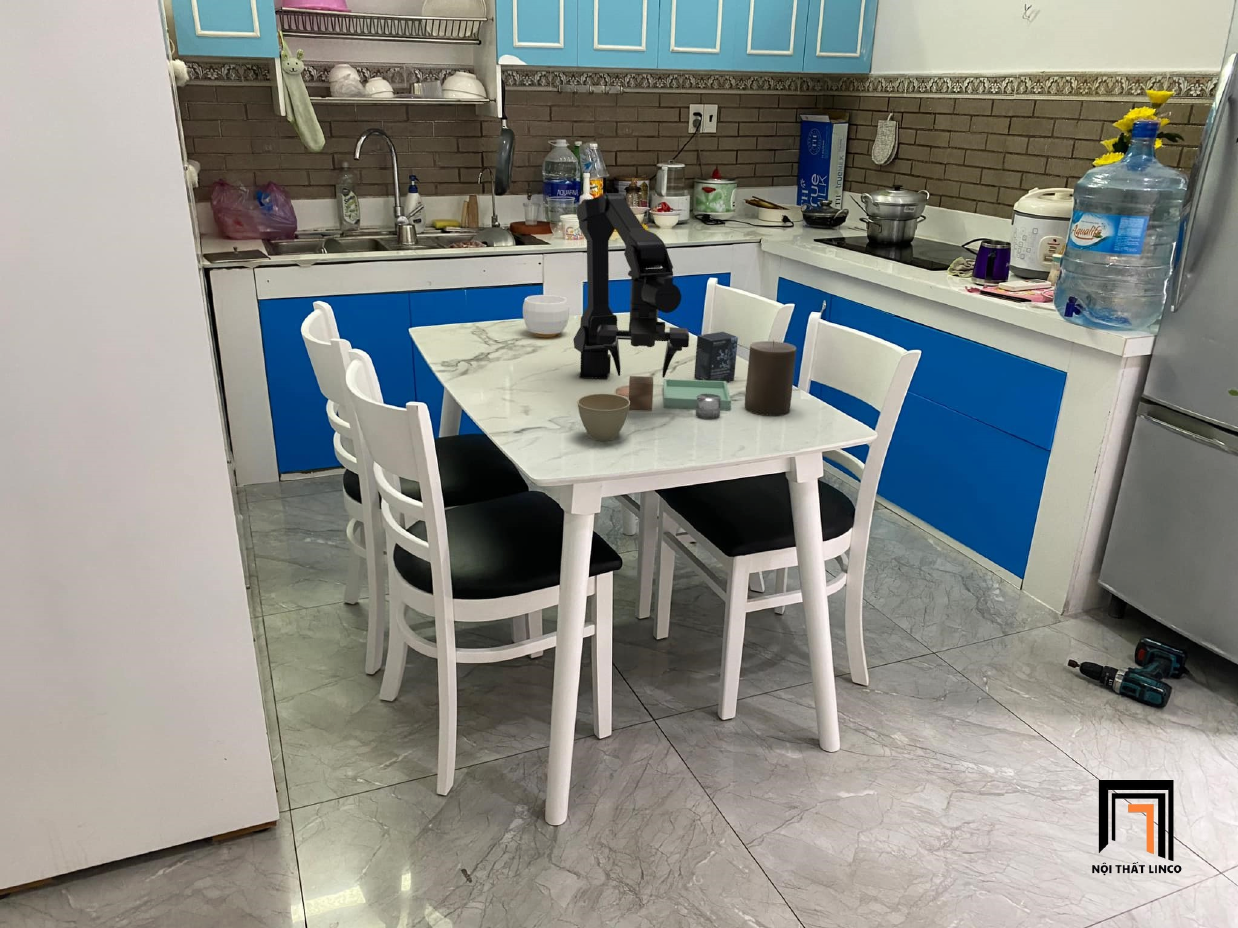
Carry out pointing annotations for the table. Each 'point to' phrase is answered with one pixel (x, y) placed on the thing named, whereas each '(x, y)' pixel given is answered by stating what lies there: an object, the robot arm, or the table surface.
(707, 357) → the box
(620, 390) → the pink dome
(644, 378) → the walnut block
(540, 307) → the cup
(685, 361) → the table surface
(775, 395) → the pillar candle
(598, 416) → the flower pot
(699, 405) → the grey tin
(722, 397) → the tray
